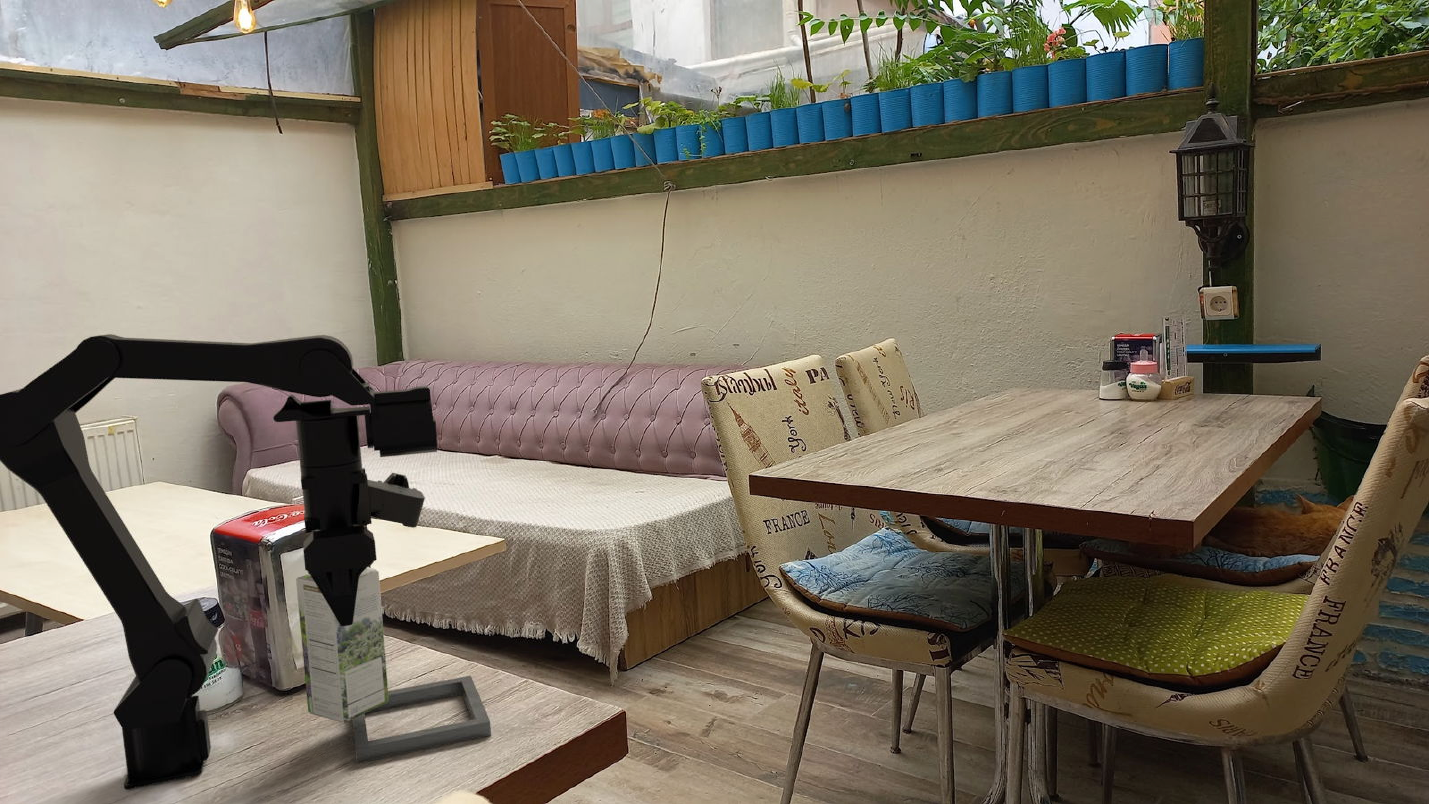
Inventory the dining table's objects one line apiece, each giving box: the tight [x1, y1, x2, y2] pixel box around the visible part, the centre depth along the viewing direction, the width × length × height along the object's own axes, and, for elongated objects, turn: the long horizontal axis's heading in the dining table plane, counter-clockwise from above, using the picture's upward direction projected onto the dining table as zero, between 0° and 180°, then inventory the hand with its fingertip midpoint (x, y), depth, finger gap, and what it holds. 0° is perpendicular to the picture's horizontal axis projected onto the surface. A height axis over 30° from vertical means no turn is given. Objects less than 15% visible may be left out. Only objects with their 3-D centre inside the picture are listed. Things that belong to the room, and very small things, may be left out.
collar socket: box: [351, 675, 492, 764], centre depth 102 cm, size 13×13×2 cm
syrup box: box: [295, 566, 389, 724], centre depth 98 cm, size 6×6×14 cm
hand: (345, 613), depth 98 cm, fingers closed on syrup box, 7 cm apart
